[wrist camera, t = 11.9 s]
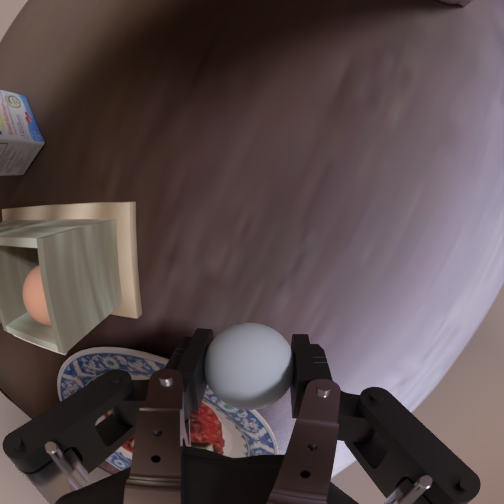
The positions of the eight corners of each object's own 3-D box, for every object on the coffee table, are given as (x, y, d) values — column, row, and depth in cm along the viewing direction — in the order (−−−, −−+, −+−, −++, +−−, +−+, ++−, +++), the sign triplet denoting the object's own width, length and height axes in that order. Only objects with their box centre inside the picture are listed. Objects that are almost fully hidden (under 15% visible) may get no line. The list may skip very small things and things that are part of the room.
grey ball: (295, 309, 13) (304, 357, 9) (288, 374, 14) (292, 429, 10) (211, 305, 13) (190, 351, 9) (214, 370, 14) (199, 422, 10)
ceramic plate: (37, 329, 23) (21, 341, 20) (267, 332, 21) (267, 352, 18) (115, 467, 28) (108, 480, 25) (282, 485, 26) (282, 501, 24)
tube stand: (135, 201, 19) (55, 213, 10) (142, 313, 21) (85, 375, 12) (8, 208, 20) (-55, 221, 11) (17, 289, 22) (-38, 319, 13)
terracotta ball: (65, 244, 14) (67, 297, 12) (81, 281, 17) (88, 329, 15) (15, 258, 13) (11, 311, 10) (37, 292, 15) (39, 341, 13)
